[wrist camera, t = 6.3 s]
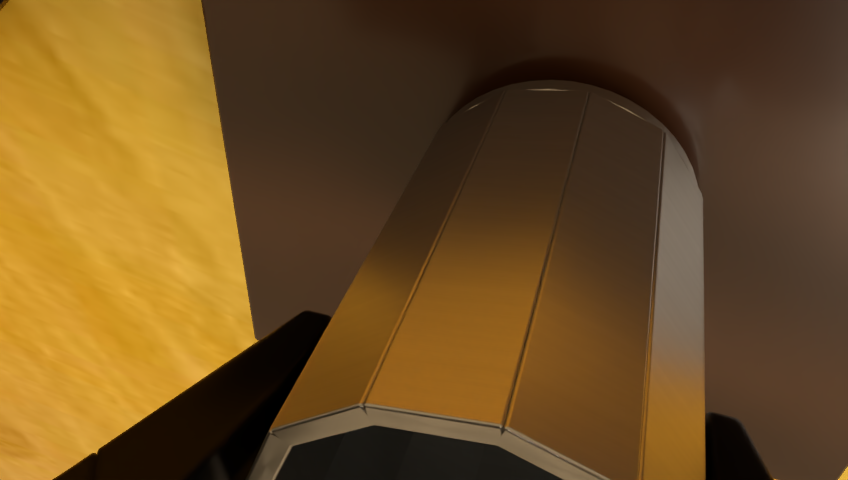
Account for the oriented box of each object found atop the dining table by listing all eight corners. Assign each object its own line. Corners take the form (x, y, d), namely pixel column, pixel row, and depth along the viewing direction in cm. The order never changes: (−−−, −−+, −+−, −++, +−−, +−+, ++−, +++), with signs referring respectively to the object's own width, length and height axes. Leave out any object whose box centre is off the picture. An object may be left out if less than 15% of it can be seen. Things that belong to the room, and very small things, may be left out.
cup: (513, 333, 15) (419, 676, 10) (372, 154, 14) (168, 459, 8) (748, 259, 13) (785, 681, 7) (610, 22, 11) (528, 357, 6)
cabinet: (799, 306, 21) (828, 495, 16) (343, 205, 24) (254, 340, 19) (1088, -238, 12) (1330, -180, 8) (325, -293, 15) (154, -275, 11)
